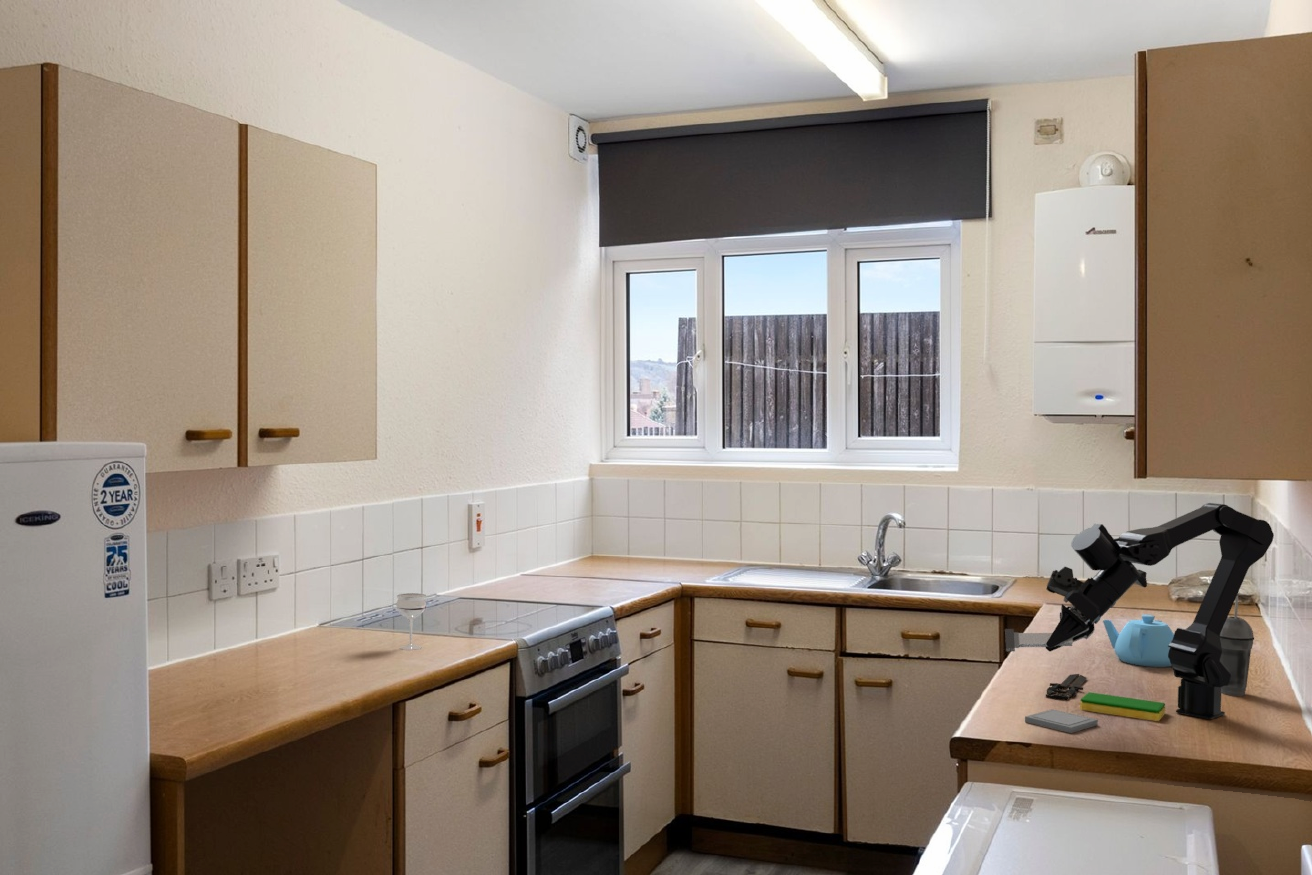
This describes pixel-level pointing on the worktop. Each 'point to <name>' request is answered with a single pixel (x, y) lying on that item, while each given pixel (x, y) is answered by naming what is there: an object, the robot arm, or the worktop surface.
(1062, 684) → the dark piece
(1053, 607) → the worktop surface
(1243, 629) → the beverage cup
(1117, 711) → the dish sponge
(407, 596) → the wineglass
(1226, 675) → the robot arm
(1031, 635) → the grey stepped bar
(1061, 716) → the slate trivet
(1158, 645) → the teapot
